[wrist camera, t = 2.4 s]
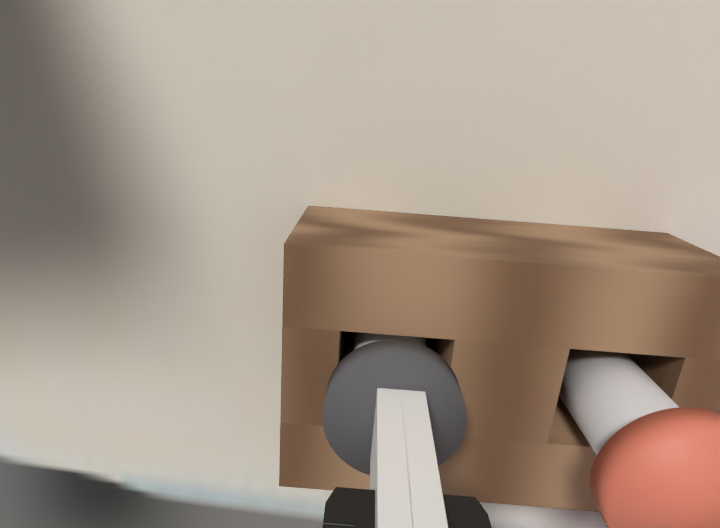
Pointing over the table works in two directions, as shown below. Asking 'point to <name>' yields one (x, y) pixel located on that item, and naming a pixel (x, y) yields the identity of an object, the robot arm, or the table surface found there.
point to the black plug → (391, 371)
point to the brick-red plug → (643, 445)
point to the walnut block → (492, 335)
